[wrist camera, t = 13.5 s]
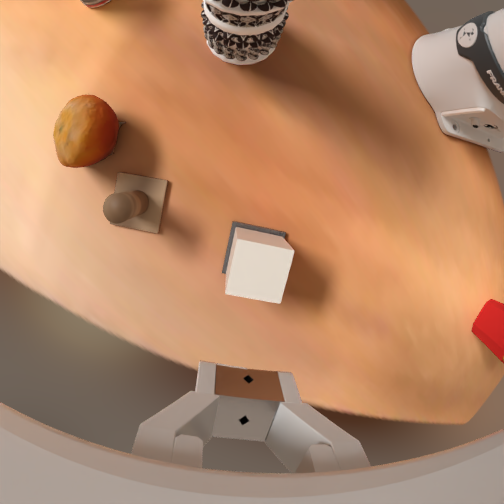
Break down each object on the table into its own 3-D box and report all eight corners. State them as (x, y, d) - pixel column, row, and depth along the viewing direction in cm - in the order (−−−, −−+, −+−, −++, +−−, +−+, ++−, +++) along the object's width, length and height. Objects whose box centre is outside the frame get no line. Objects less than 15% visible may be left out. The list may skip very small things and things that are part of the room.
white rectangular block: (282, 236, 33) (294, 250, 27) (271, 280, 34) (280, 303, 28) (235, 226, 32) (237, 238, 26) (226, 271, 34) (225, 293, 27)
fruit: (130, 174, 30) (68, 169, 23) (93, 167, 33) (40, 164, 26) (146, 102, 28) (87, 84, 21) (106, 106, 31) (54, 94, 24)
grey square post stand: (285, 232, 34) (298, 245, 27) (272, 281, 35) (282, 305, 29) (232, 220, 33) (233, 231, 26) (222, 271, 35) (220, 294, 28)
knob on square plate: (168, 180, 32) (152, 181, 25) (158, 232, 33) (141, 246, 26) (119, 172, 31) (93, 171, 24) (111, 223, 32) (85, 234, 26)
